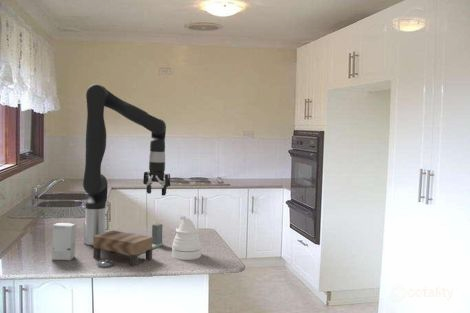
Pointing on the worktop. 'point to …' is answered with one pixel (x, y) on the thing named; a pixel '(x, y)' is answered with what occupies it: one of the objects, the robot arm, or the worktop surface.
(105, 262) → the disc
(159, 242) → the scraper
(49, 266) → the worktop surface
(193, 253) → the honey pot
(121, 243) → the walnut table
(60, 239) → the skincare box
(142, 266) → the worktop surface
